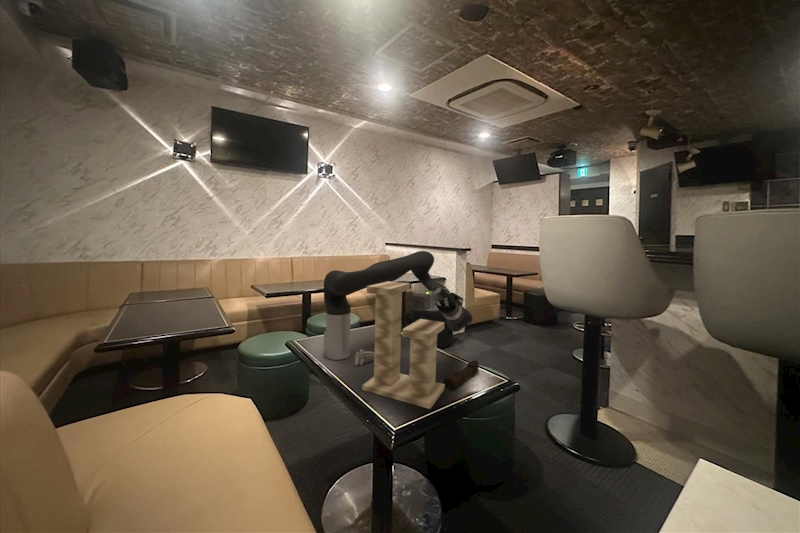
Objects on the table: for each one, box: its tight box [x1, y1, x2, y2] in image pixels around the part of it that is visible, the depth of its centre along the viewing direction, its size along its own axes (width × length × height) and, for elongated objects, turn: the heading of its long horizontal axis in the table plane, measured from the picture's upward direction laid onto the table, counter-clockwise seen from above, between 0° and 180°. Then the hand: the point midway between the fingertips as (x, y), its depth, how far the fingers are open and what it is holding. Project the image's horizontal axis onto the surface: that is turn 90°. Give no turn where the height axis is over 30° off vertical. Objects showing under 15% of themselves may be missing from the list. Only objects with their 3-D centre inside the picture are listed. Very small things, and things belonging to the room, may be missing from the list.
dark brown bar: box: [443, 359, 479, 391], centre depth 102 cm, size 19×4×5 cm, turn 135°
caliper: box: [354, 348, 402, 367], centre depth 116 cm, size 20×1×6 cm, turn 127°
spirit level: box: [410, 287, 448, 312], centre depth 94 cm, size 4×22×4 cm, turn 154°
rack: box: [361, 281, 446, 410], centre depth 93 cm, size 22×13×32 cm, turn 64°
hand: (437, 290), depth 98 cm, fingers closed on spirit level, 2 cm apart
